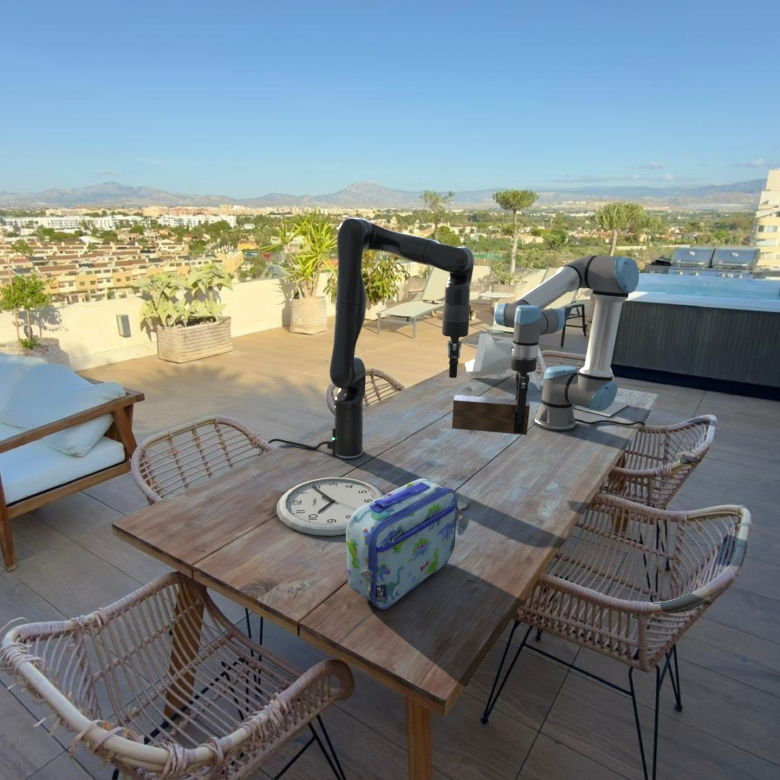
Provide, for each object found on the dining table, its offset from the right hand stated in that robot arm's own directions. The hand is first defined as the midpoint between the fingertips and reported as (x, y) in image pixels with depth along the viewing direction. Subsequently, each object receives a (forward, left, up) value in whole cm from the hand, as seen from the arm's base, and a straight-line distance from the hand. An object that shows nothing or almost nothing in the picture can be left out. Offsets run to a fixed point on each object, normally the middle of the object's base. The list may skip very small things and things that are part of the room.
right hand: (517, 428), depth 165 cm
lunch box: (+30, +62, -13) cm, 70 cm away
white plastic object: (-5, -94, -13) cm, 95 cm away
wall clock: (+52, +33, -13) cm, 63 cm away
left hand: (+21, +8, +19) cm, 30 cm away
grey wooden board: (-44, -66, -13) cm, 80 cm away
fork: (+18, +33, -13) cm, 40 cm away
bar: (+9, -1, -1) cm, 9 cm away
